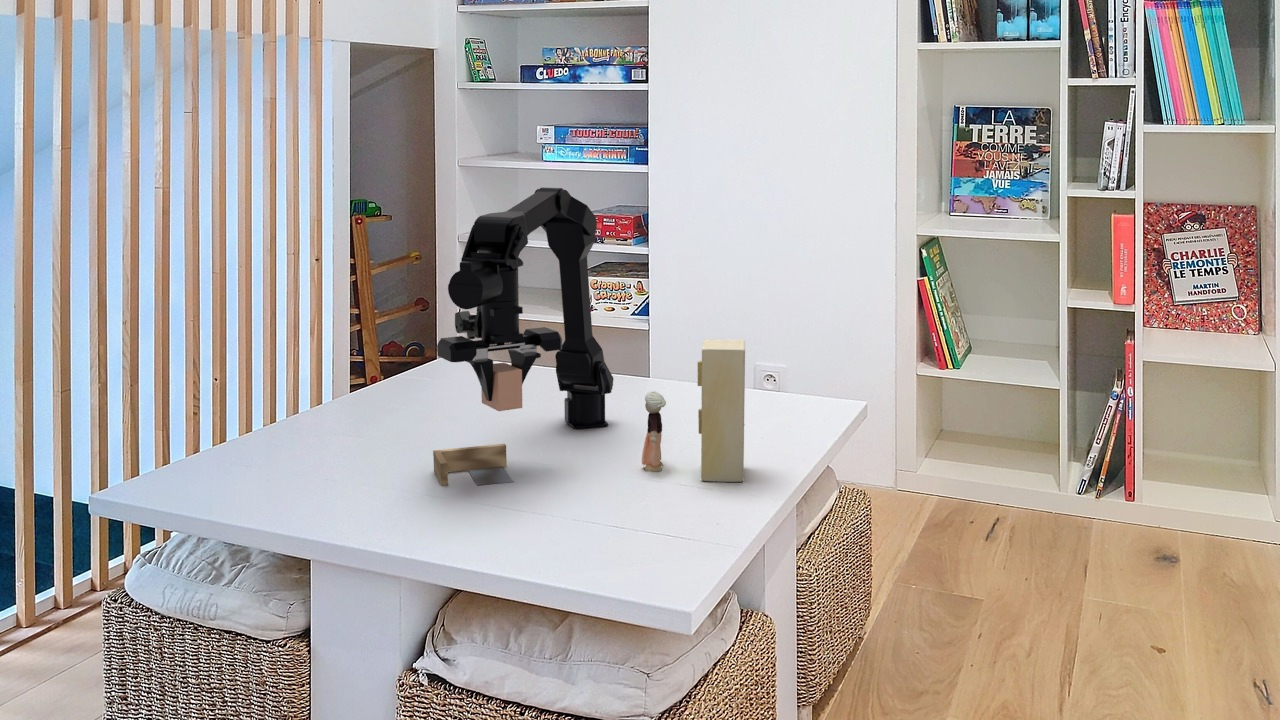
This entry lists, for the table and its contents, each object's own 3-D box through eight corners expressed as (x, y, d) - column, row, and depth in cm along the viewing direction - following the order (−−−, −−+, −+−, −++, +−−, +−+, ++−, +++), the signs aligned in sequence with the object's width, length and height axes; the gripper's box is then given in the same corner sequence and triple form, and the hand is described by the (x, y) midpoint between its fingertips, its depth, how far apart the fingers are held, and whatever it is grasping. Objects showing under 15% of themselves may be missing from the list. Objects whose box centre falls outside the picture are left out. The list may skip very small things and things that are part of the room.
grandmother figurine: (639, 461, 192) (639, 385, 189) (662, 460, 192) (663, 385, 189) (643, 476, 184) (643, 398, 181) (668, 475, 184) (668, 397, 181)
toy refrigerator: (697, 465, 189) (699, 338, 185) (743, 466, 189) (746, 338, 184) (695, 481, 182) (697, 349, 177) (743, 483, 181) (746, 350, 176)
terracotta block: (522, 407, 181) (521, 369, 179) (498, 411, 178) (498, 372, 177) (504, 399, 185) (504, 362, 184) (481, 402, 183) (480, 365, 182)
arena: (505, 464, 190) (504, 443, 189) (517, 481, 182) (517, 459, 181) (433, 471, 186) (433, 450, 185) (443, 489, 178) (442, 467, 177)
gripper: (530, 287, 190) (531, 381, 193) (421, 296, 180) (424, 395, 183) (563, 296, 181) (564, 395, 184) (450, 307, 171) (453, 411, 174)
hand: (501, 398), depth 182 cm, fingers closed on terracotta block, 4 cm apart
